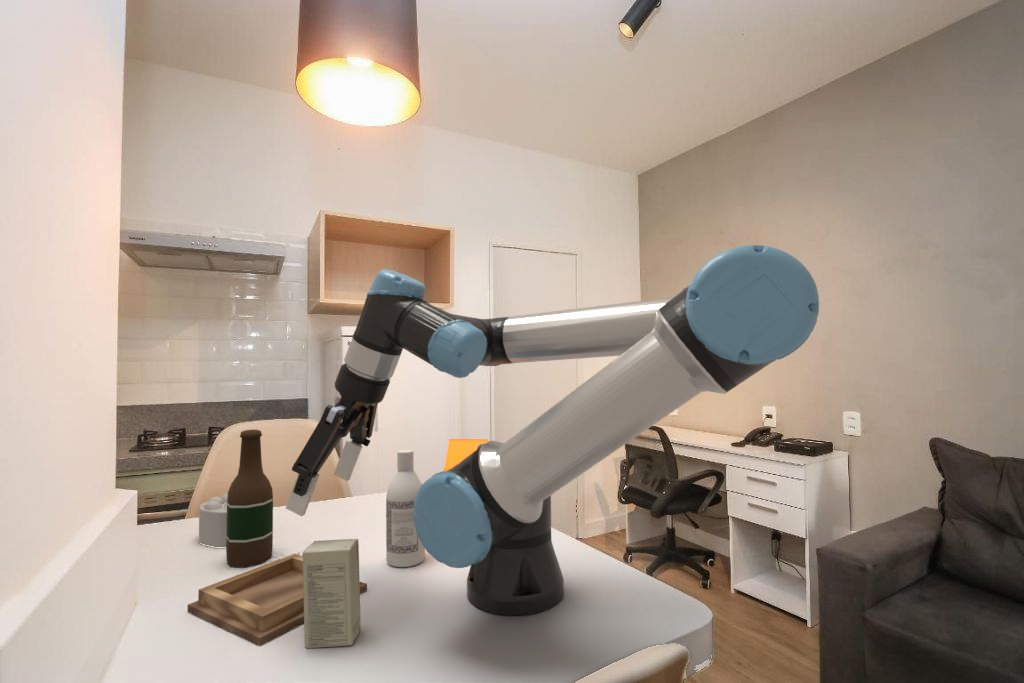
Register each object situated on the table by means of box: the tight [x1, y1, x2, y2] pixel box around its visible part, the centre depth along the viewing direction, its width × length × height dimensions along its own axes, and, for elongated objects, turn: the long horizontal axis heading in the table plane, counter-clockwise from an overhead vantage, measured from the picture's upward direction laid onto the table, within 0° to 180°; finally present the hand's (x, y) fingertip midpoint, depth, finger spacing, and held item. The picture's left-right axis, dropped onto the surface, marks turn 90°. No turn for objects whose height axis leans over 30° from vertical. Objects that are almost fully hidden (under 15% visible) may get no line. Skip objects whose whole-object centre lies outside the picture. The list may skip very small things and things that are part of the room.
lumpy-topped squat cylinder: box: [198, 492, 228, 547], centre depth 105 cm, size 10×13×9 cm
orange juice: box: [443, 438, 489, 471], centre depth 105 cm, size 8×9×20 cm
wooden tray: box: [187, 553, 368, 647], centre depth 76 cm, size 18×18×3 cm
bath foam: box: [385, 449, 426, 568], centre depth 91 cm, size 7×7×20 cm
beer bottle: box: [225, 429, 274, 568], centre depth 93 cm, size 8×8×24 cm
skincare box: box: [302, 538, 362, 649], centre depth 65 cm, size 6×4×12 cm
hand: (320, 492), depth 78 cm, fingers open, 13 cm apart
